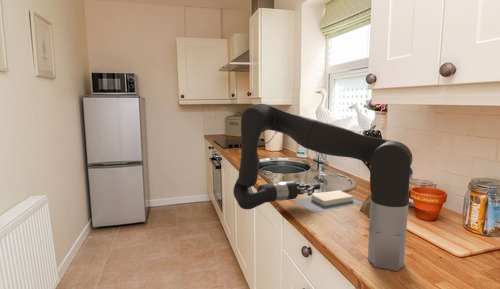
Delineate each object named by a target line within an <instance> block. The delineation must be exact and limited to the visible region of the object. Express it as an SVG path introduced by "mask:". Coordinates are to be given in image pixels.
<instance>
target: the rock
mask: <svg viewBox="0 0 500 289" xmlns="http://www.w3.org/2000/svg"><path fill="white" fill-rule="evenodd" d="M370 205H371V192H370V193H369V195H368V196H367V197H366V199H365V200H364V203H363V204H361V207H360V208H359V212H362V213H364V214H365V215H367V218H368V219H370Z"/></svg>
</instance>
